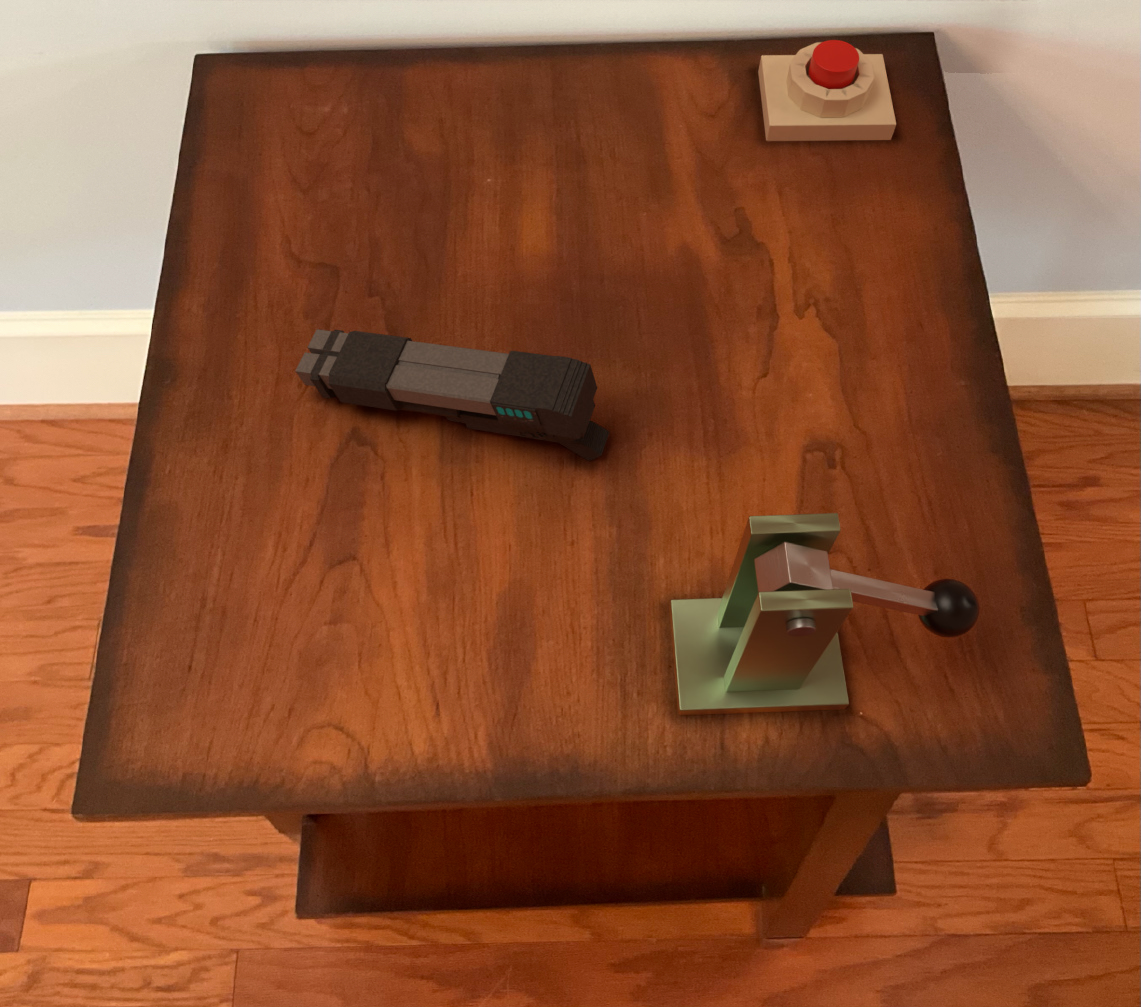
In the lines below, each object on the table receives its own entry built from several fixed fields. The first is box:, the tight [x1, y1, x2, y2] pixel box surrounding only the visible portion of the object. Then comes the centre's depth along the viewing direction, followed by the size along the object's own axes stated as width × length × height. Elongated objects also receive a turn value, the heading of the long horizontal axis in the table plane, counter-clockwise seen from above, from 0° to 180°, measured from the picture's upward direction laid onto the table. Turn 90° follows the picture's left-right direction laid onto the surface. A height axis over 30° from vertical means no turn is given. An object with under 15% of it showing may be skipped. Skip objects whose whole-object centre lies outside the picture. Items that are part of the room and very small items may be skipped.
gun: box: [294, 328, 610, 462], centre depth 68 cm, size 4×20×10 cm, turn 73°
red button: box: [809, 39, 859, 89], centre depth 79 cm, size 4×4×2 cm
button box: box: [757, 41, 897, 142], centre depth 81 cm, size 10×8×4 cm
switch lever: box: [755, 542, 980, 638], centre depth 53 cm, size 14×3×3 cm, turn 92°
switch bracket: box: [668, 512, 854, 716], centre depth 55 cm, size 10×7×15 cm
